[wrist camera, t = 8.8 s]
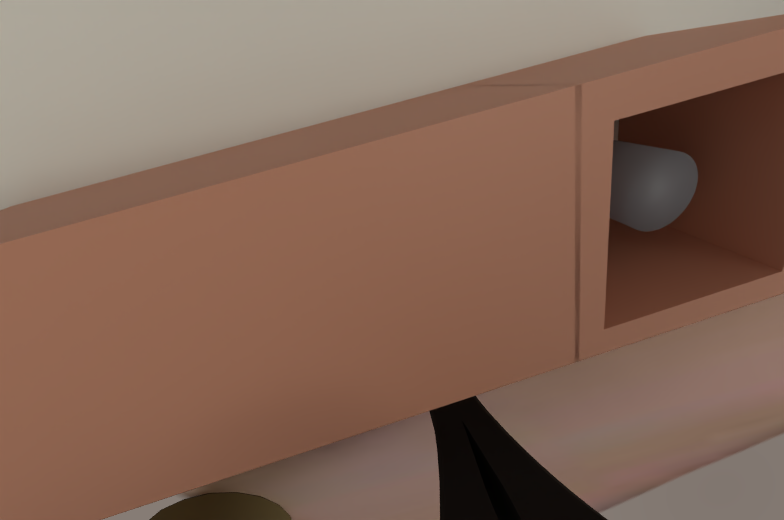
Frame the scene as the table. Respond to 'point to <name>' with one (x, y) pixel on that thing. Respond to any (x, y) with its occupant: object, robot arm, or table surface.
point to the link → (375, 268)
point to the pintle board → (293, 77)
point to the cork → (223, 508)
